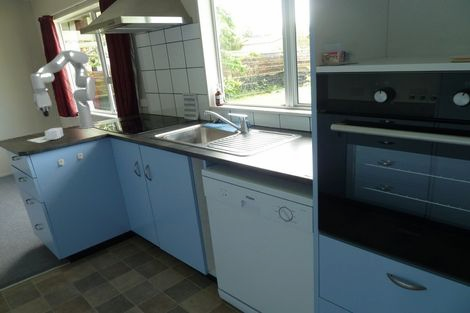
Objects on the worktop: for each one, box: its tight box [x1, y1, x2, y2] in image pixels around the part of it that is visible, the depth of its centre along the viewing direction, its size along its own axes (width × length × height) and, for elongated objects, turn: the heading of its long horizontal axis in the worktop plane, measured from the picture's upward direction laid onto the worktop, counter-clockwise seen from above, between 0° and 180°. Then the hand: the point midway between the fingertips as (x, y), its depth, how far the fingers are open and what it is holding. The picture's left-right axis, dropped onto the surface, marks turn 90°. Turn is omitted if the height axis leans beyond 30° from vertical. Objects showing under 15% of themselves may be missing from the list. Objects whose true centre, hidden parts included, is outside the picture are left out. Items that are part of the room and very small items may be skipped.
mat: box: [26, 135, 62, 144], centre depth 247 cm, size 16×18×1 cm
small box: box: [44, 127, 64, 141], centre depth 245 cm, size 8×6×13 cm
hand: (46, 116), depth 247 cm, fingers closed
